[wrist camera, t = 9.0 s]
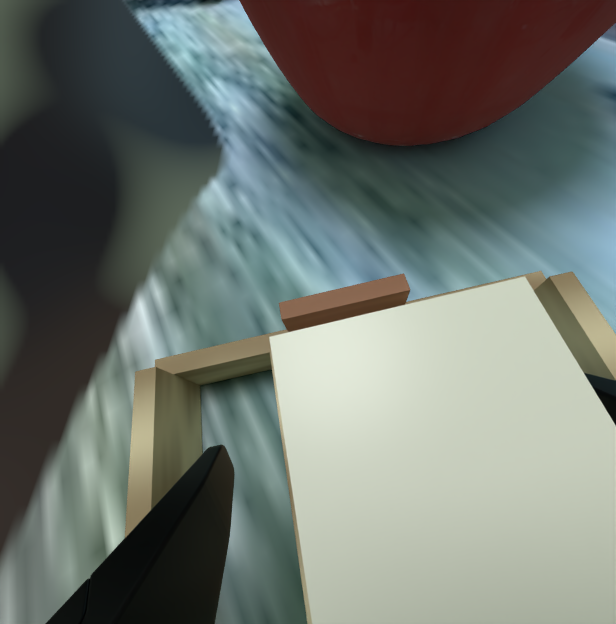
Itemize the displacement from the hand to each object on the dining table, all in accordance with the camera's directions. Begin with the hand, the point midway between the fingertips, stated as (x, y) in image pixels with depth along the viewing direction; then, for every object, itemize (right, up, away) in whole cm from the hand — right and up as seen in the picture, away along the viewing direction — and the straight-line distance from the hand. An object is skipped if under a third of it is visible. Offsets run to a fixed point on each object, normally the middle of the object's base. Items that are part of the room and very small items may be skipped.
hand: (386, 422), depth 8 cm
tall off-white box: (+1, -4, +7) cm, 8 cm away
